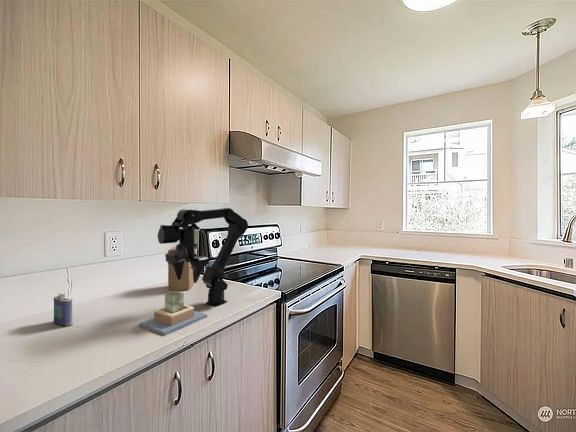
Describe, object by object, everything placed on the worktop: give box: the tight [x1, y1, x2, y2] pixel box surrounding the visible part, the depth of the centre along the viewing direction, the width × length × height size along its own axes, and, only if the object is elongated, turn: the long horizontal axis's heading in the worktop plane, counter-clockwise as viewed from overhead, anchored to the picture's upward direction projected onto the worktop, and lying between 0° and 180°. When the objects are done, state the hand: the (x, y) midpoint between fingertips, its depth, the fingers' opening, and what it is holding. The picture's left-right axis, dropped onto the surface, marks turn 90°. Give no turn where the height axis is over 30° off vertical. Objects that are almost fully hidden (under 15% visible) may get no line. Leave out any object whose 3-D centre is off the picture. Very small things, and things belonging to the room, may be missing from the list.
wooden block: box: [167, 246, 195, 291], centre depth 144 cm, size 10×10×20 cm
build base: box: [138, 303, 208, 336], centre depth 103 cm, size 18×14×5 cm
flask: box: [53, 293, 74, 328], centre depth 100 cm, size 9×3×11 cm, turn 63°
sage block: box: [164, 290, 185, 313], centre depth 103 cm, size 4×4×6 cm
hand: (187, 281), depth 113 cm, fingers open, 9 cm apart
